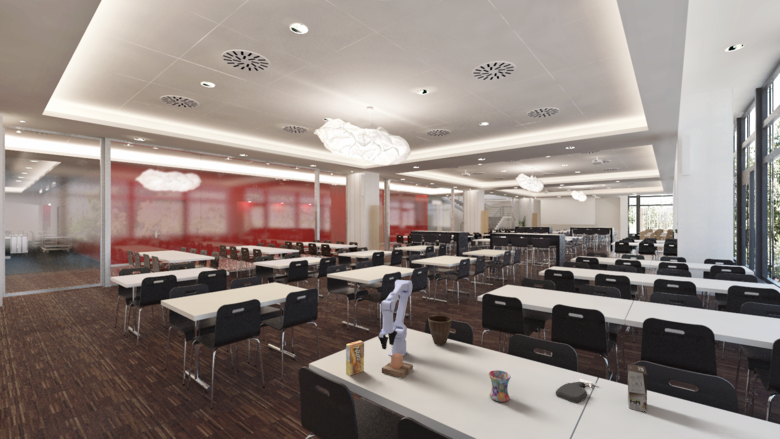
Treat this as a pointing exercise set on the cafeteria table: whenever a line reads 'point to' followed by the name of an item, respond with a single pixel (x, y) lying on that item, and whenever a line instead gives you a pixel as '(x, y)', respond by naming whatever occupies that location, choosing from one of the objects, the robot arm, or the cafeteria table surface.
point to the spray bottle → (574, 391)
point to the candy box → (354, 357)
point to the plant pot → (439, 328)
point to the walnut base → (397, 370)
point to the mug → (499, 385)
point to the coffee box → (637, 387)
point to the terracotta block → (397, 360)
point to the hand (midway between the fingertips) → (387, 346)
